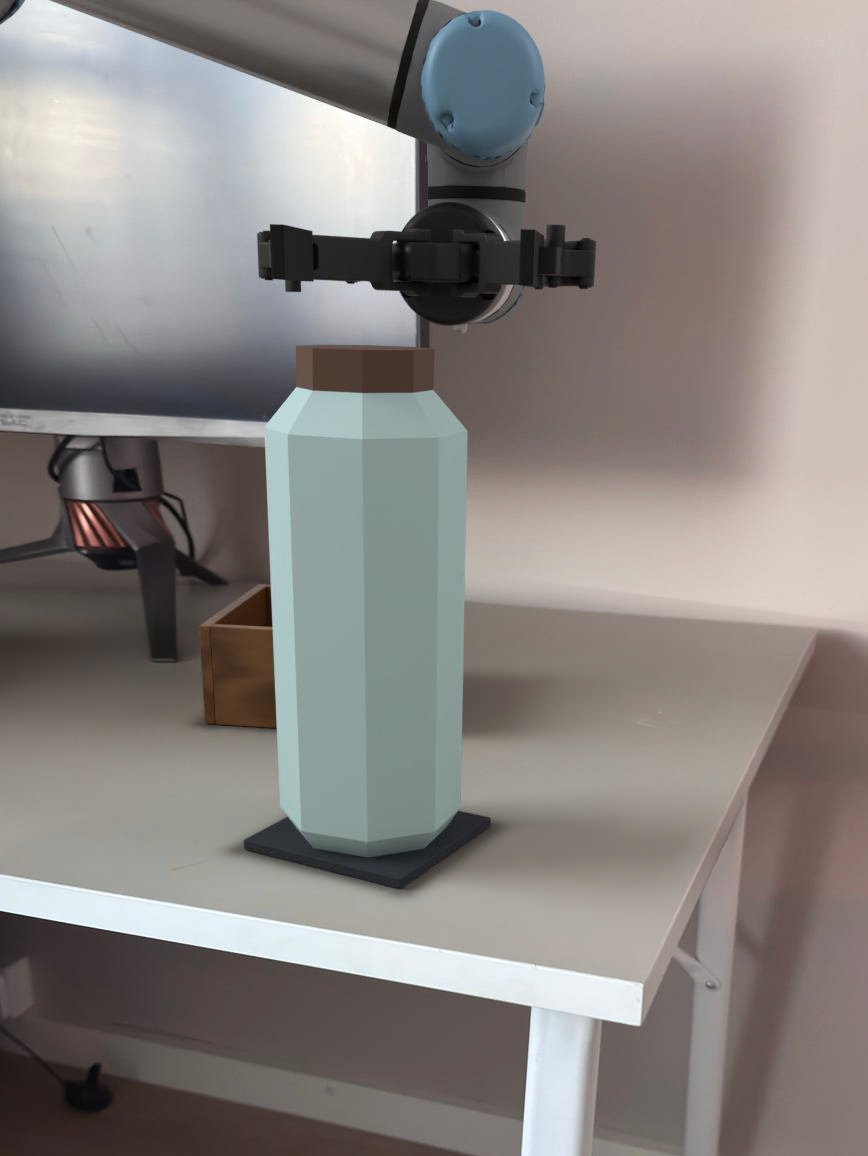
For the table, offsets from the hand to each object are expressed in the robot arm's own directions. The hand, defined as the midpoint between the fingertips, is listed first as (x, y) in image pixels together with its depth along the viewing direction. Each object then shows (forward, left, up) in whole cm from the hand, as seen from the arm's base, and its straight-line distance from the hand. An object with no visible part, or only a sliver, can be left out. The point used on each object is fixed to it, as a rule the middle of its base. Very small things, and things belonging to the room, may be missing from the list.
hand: (400, 254), depth 69 cm
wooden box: (-13, +12, -30) cm, 35 cm away
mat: (+4, -9, -30) cm, 32 cm away
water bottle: (+4, -9, -30) cm, 31 cm away
